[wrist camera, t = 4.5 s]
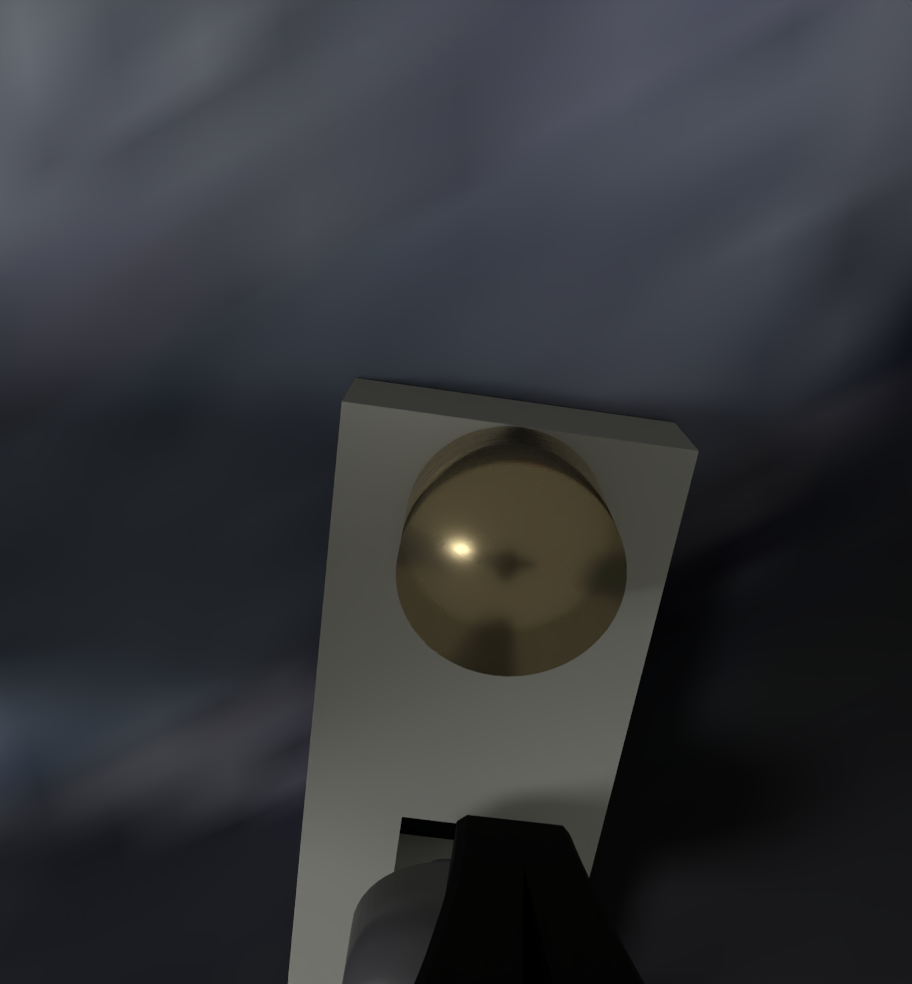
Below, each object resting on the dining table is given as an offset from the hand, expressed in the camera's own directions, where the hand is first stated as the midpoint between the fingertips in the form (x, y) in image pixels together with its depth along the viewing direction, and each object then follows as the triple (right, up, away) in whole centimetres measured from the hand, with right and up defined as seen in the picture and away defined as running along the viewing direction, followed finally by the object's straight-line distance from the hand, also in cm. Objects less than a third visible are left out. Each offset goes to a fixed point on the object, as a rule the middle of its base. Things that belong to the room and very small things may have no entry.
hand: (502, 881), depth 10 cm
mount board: (-1, -3, +11) cm, 12 cm away
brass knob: (0, +5, +8) cm, 9 cm away
